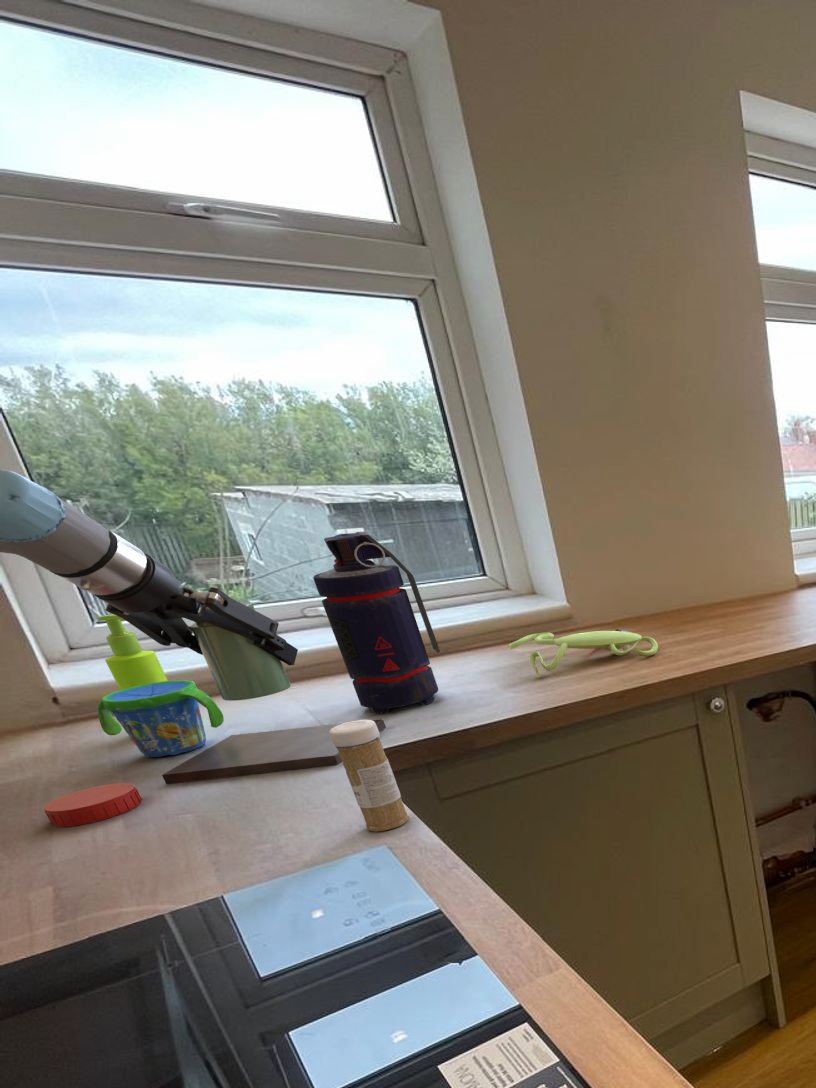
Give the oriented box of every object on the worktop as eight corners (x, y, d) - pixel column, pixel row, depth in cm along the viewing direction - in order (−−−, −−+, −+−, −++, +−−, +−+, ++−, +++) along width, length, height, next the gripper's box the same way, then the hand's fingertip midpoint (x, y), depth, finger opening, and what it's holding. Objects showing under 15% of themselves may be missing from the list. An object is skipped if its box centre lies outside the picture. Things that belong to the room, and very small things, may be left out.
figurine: (513, 660, 171) (505, 634, 169) (645, 637, 184) (640, 613, 182) (520, 681, 157) (512, 653, 155) (663, 655, 170) (657, 629, 168)
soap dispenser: (171, 734, 137) (115, 618, 129) (131, 735, 137) (73, 619, 129) (203, 721, 142) (151, 609, 134) (165, 722, 143) (111, 611, 135)
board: (165, 784, 117) (161, 774, 116) (234, 743, 131) (231, 735, 131) (337, 764, 121) (334, 755, 121) (386, 727, 136) (383, 718, 135)
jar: (209, 703, 118) (170, 615, 113) (243, 686, 125) (207, 603, 120) (272, 697, 119) (236, 610, 114) (302, 681, 127) (269, 598, 121)
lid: (106, 823, 106) (98, 807, 105) (32, 830, 105) (23, 814, 104) (158, 794, 114) (151, 779, 113) (90, 801, 113) (82, 786, 112)
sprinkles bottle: (364, 824, 102) (325, 725, 97) (407, 812, 105) (371, 715, 100) (370, 836, 99) (330, 735, 94) (414, 823, 102) (377, 724, 97)
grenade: (366, 719, 140) (300, 542, 128) (359, 703, 148) (296, 536, 136) (458, 699, 148) (404, 531, 136) (446, 685, 156) (395, 526, 144)
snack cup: (253, 734, 135) (228, 676, 131) (198, 760, 125) (169, 698, 121) (157, 740, 134) (129, 681, 130) (95, 766, 125) (62, 704, 121)
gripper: (19, 603, 101) (184, 685, 122) (197, 593, 102) (329, 676, 123) (40, 553, 103) (197, 642, 124) (213, 543, 105) (340, 633, 126)
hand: (263, 659), depth 124 cm, fingers closed on jar, 8 cm apart
